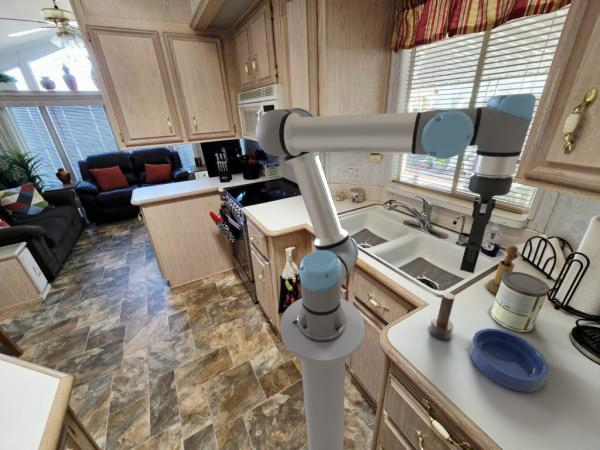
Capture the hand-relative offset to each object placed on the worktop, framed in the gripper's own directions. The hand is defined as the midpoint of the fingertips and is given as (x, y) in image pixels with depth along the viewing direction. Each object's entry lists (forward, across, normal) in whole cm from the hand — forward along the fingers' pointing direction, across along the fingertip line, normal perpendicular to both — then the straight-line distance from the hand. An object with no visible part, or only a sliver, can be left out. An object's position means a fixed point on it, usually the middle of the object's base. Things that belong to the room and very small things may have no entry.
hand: (469, 257), depth 63 cm
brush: (+26, -2, +2) cm, 26 cm away
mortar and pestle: (+26, +30, -11) cm, 41 cm away
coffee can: (+26, +16, -14) cm, 33 cm away
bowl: (+26, -4, -12) cm, 29 cm away
